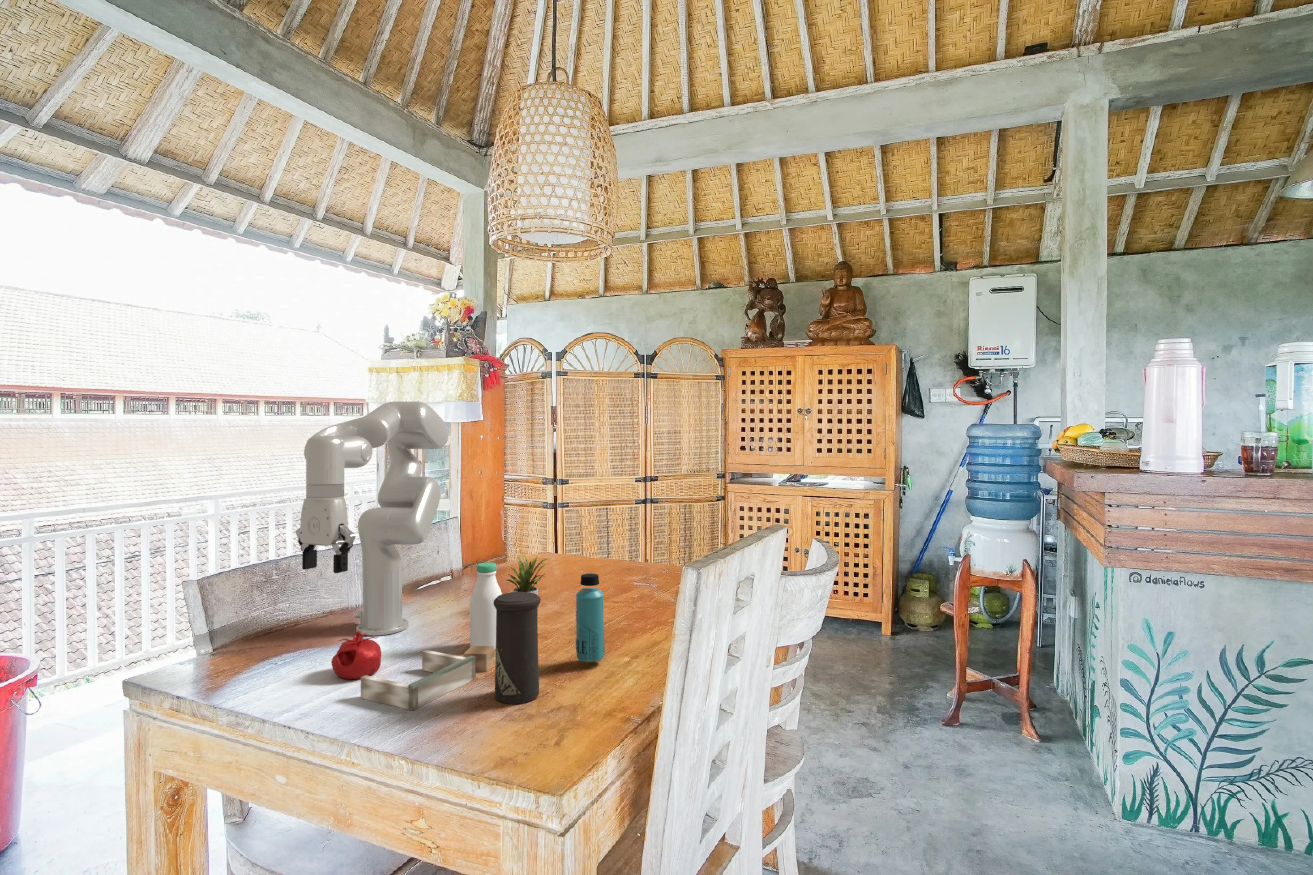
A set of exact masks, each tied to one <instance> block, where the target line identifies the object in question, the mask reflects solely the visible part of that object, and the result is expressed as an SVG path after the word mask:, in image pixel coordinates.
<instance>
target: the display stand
mask: <svg viewBox="0 0 1313 875" xmlns="http://www.w3.org/2000/svg"><path fill="white" fill-rule="evenodd" d="M421 660H422V661H421V664H422V666H421V667H422V668H421V669H422V670H421V671H426V672H430V673H431V674H428V675H426V676H425V677H422V678H420V679H418V680H416V681H413V682H411V683H410V684H407V683H402V682H398V681H394V680H390V679H384V678H380V677H377V676H376V677H375V676H372V675H370V676H367V675H365V676H363V677H361V678H360V698H361V699H365V700H369V701H372V702H377V703H382V704H385V705H389V706H393V707H397V708H401V709H405V710H409V711H415V710H417V709H419V708H421V707H423V706H425V705H427V704H428V703H431V702H433V701H434V700H437V699H438V698H440V697H441V698H442V696H444V695H446V694H448V693H450V692H452V691H454V690H456V689H458V688H460V687H462V686H464V685H466V684H468V683H469V682H472V681H473V680H475V679H477V676H476V675H477V672H476V656H469V657H467V658H466V657H464V656H460V655H454V654H451V653H449V654H448V653H444V652H439V651H433V650H427V649H425V650H424V651H422V652H421Z"/></svg>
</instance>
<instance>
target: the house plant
mask: <svg viewBox="0 0 1313 875" xmlns="http://www.w3.org/2000/svg"><path fill="white" fill-rule="evenodd" d="M520 555H521V554H520ZM521 557H522V559H523V561H522V560H521V558H520V557H517V563H518V571H519V572H518V571H517V570H516V568H514V567H513V566H512V565H510V564H508V563H507V562H505V561H503V563H505V564H506V565H508V567H510V569H511V570H512V571H513V572H514V573H515V575H516V577H515V576H513V575H512V574H509V573H508V576H509V577H510V578H511V579H505V581H507V582H510V583H512V584H513V585H515V586H516V587H514V588H513V590H512V592H531V593H535V594H537V595H538V596H539V594H538V593H539V588H538V587H537V586H538V583H541V582H540V581H541V579H542V577H543V578H545V579H546V578H547V577H546V576H545V575H548V574H549V572H546V573H544V574H539V572H540V570H541V569H542V568H543V567H545V566H547V565H549V563H544V562H545V561H547V560H550V559H551V557H549V558H548V557H547V558H544V559H542V560H540V562H538V563H537V561H538V560H537V559H538V556H535V557H534V558H533V559H532V560H531V561H529V562H528V559H527V557H526V555H525V554H524V553H522V555H521ZM536 564H537V565H536ZM535 565H536V566H535ZM540 565H542V566H540ZM538 568H539V569H538ZM537 569H538V570H537ZM536 570H537V572H536ZM535 572H536V573H535ZM534 574H535V575H534ZM533 575H534V576H533ZM536 578H537V579H536ZM535 585H536V586H535Z"/></svg>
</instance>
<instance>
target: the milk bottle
mask: <svg viewBox="0 0 1313 875" xmlns="http://www.w3.org/2000/svg"><path fill="white" fill-rule="evenodd" d="M475 570H476V575H477V577H476V578H477V579H476V582H475V584H474V587H473V590H472V591H471V595H470V600H469V602H470V603H469V648H470V647H471V646H494V652H496V608H495V606H494V600H495V599H496V598H497V597H498V596H499V595H502V594H503V593H502V590H501V587H500V585H499V584H498V580H497V577H496V574H497V564H496V563H495V562H481V563H480V562H479V563H478V564H477V565H476V569H475Z"/></svg>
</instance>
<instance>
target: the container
mask: <svg viewBox="0 0 1313 875" xmlns="http://www.w3.org/2000/svg"><path fill="white" fill-rule="evenodd" d="M540 603H541V597H540V596H539V594H538V595H537V594H535V593H531V592H513V591H512V592H506V593H502V595H499V596H498V597H497V598H496V599H495V600H494V606H495V608H496V650H495V661H494V665H495V666H494V667H495V669H494V670H495V672H494V698H495V699H496V700H497V701H498V702H500V703H504V704H511V705H515V704H517V705H518V704H525V703H529V702H531V701H534V700H535V699H537V698H538V696H540V695H539V694H540V675H539V674H540V673H539V637H538V636H539V633H538V628H539V627H538V625H539V624H538V623H539V621H538V618H539V617H538V612H539V610H538V608H539V605H540Z"/></svg>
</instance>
